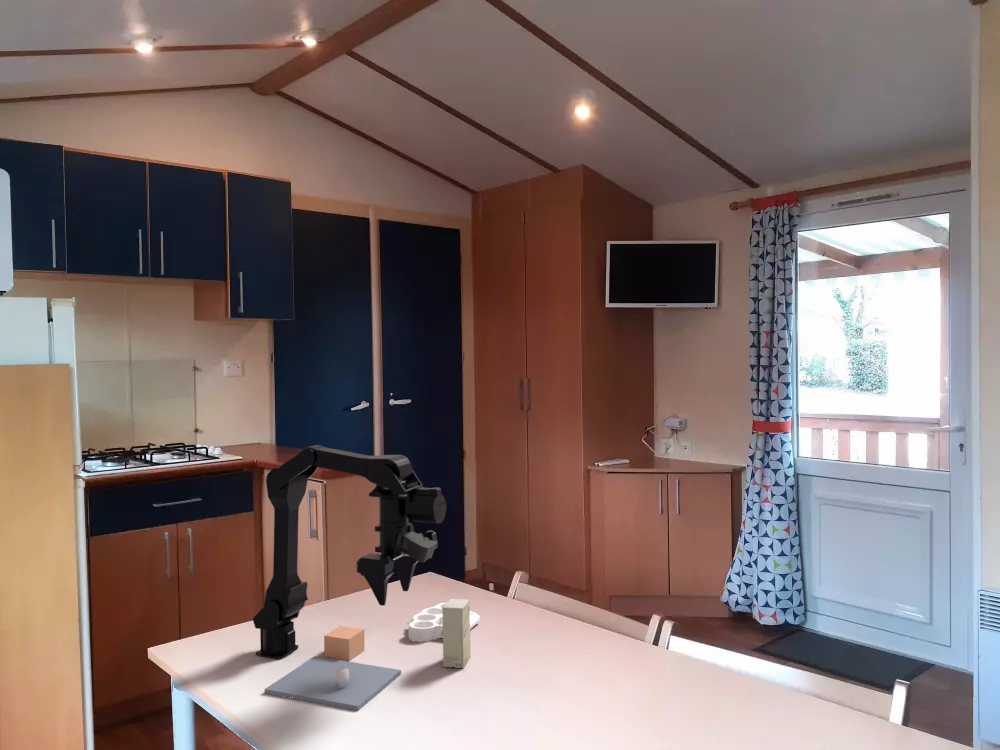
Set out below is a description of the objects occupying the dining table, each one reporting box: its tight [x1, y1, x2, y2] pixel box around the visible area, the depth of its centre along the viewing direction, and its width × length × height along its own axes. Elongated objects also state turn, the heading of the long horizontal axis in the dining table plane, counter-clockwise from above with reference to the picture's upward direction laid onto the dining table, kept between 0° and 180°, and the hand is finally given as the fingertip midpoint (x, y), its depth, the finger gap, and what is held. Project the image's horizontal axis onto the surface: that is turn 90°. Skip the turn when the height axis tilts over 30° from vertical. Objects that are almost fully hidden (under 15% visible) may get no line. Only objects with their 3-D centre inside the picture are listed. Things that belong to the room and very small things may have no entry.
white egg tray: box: [406, 602, 481, 642], centre depth 171 cm, size 3×18×15 cm
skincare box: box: [442, 598, 472, 669], centre depth 152 cm, size 6×4×12 cm
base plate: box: [264, 655, 402, 711], centre depth 142 cm, size 20×16×4 cm
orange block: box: [323, 625, 366, 662], centre depth 156 cm, size 6×6×4 cm
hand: (394, 597), depth 147 cm, fingers open, 9 cm apart
